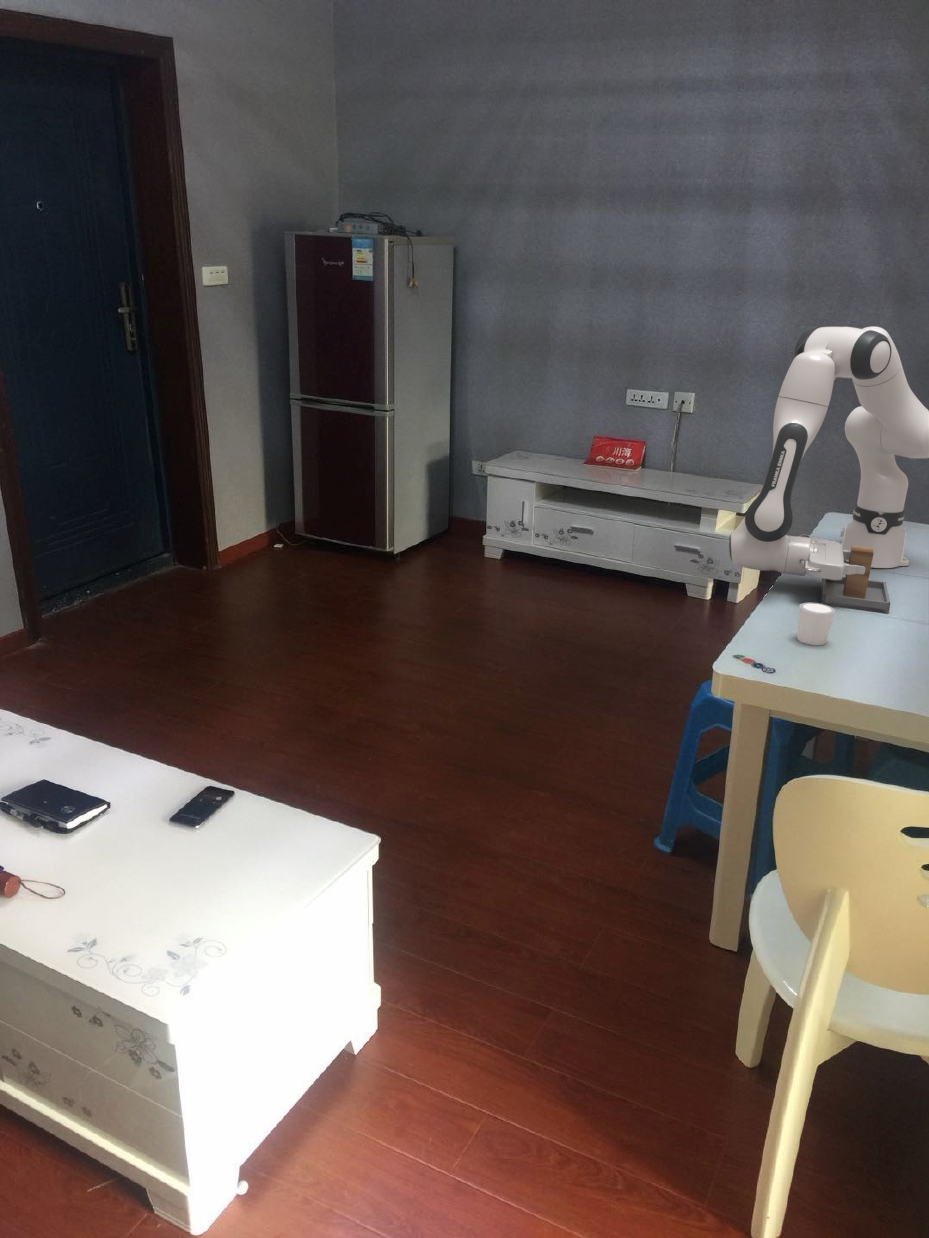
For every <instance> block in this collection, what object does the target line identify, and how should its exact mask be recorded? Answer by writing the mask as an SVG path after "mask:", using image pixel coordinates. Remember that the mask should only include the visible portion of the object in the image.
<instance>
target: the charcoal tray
mask: <svg viewBox="0 0 929 1238" xmlns="http://www.w3.org/2000/svg"><path fill="white" fill-rule="evenodd" d="M845 578H846V576H843V577H842V580H830V579H824V578H821V583H820V584H821V585H820V589H821V592H820V594H821V595H820V598H821V599H820V600H821V604H824V605H827V606H830V607H837V608H846V609H852V610H859V611H867V612H874V613H879V614H880V613H881V614H889V613H890V612H889V611H890V608H891V599H890V596H889V595H890V594H889V591H888V587H887V582H886V581H878V580H870V579H868V585H867V590H866V595H865V599H860V598H853V597H845V596H844V594H843V589H844V584H845Z"/></svg>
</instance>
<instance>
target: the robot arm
mask: <svg viewBox="0 0 929 1238" xmlns="http://www.w3.org/2000/svg"><path fill="white" fill-rule="evenodd" d="M793 356H794V358H793V360H792V362H791V364H790V366H789V368H788V370H787V373H786V374H785V377H784V379H783V381H782V385H781V387H780V390H779V394H778V396H777V400H776V404H775V409H774V414H773V423H772V425H773V426H772V427H773V428H772V435H773V446H772V454H771V458H770V461H769V464H768V465H769V466H768V469H767V472H766V475H765V478H764V482H763V485H762V488H761V491H760V492H759V494H758V496H757V497H755V499H754V500H753V501H752V503H750V505H749V507H747V510H746V511H745V515H744V517H743V519H742V520H741V522H740V523H738V526H737V527H736V528H735V529H734V530H733V531H732V532H730V534H729V540H728V541H729V542H728V550H729V557H730V560H731V562H732V563H733V564H734V565H736V566H738V567H741V568H745V569H750V570H755V571H756V570H757V571H763V572H766V571H767V572H768V571H776V572H779V573H781V574H786V575H791V576H792V575H794V576H800V577H801V576H802V577H806V573H807V575H808V576H810V577H814V578H819V579H822V578H824V579H830V580H842V577H844V575H845V576H846V575H850V574H862V575H863V574H864V573H865V566H864V565H858V564H857V565H849V564H848V562H849V557H850V551H851V546H852V545H856V546H864V547H873V552H874V554H873V559H872V564H871V568H875V569H894V568H897V567H905V566H910V561H909V559H908V558H906V557H905V556H904V551H905V546H906V540H907V532H906V531H905V529H904V528H903V527H902V525H903V523H904V519H905V510H904V508H905V503H906V498H907V493H908V488H909V479H908V476H907V475H906V473H905V472H903V471H902V470H901V469H900V467H899V466H898V464H897V462H896V456H899V457H904V458H909V459H929V409H927V407H926V406H924V404H923V403H922V402H921V401H920V399H918V397H917V396H916V395H915V393H914V392H913V391H912V389H911V387H910V385H909V383H908V381H907V380H908V379H907V377H906V374H905V371H904V368H903V367H904V366H903V364H902V360H901V358H900V354H899V352H898V349H897V347H896V345H895V342H894V341H893V339H892V337H891V335H890V334H889V332H888V331H887V330H886V329H884V328H882V327H880V326H872V325H871V326H866V327H863V328H860V327H859V328H858V327H853V326H852V327H851V326H826V325H815V326H811V327H807V328H806V329H805V330H804V331H803V332H802V333H801V334H800V335H799V336H798V338H797V339H796V341H795V345H794V351H793ZM837 378H843V379H851V380H852V383H853V386H854V389H855V392H856V393H855V394H856V396H857V398H858V402H859V404H860V406H857V407H855V408H854V409H853V410H852V411H851V412H850V414H849V415H848V416H847V418H846V420H845V423H844V434H845V437H846V439H847V441H848V442H849V443H850V444H851V446H852V447H853V449H854V450H855V453H856V456H857V458H858V462H859V466H860V467H859V468H860V481H859V491H858V495H857V503H856V504H855V505H854V508H853V511H852V512H853V513H852V521H850V523H848V524H847V525H846V526H845V527H843V528H841V531H840V537H841V538H842V539H840V542H837V541H834V540H830V539H823V538H816V537H811V535H809V534H801V535H799V536H795V535H787V534H788V533H789V531H790V530H791V527H792V524H793V511H792V510H793V509H792V506H791V504H792V503H791V500H792V499H791V498H792V493H793V489H794V485H795V483H796V479H797V477H798V476H797V475H798V473H799V469H800V466H801V463H802V460H803V457H804V456H805V454H806V452H807V450H808V449H809V447H810V446H811V444H812V443H813V441H814V439H815V438H816V436H817V434H818V433H819V431H820V429H821V427H822V426H823V422H824V420H825V418H826V415H827V412H828V408H829V405H830V402H831V397H832V394H833V389H834V388H833V387H834V383H835V382H834V381H835V380H836V379H837ZM845 562H847V563H845Z"/></svg>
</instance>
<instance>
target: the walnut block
mask: <svg viewBox="0 0 929 1238" xmlns="http://www.w3.org/2000/svg"><path fill="white" fill-rule="evenodd" d="M873 554H874V552H873V547H864V546H856V545H852V546H851V551H850V557H849V562H847V564H849V565H857V564H858V565H864V566H865V573H864V574H863V575H862V574H850V575H846V574H845V577H846V578H845V584H844V589H843V594H844V596H845V597H853V598H860V599H865V595H866V590H867V585H868V580H870V574H871V568H872V567H871V564H872V559H873Z"/></svg>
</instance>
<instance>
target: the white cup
mask: <svg viewBox="0 0 929 1238" xmlns="http://www.w3.org/2000/svg"><path fill="white" fill-rule="evenodd" d="M835 613H836V610H835V608H833V606H829V605H824V604H822V603H819V602H804V603H800V604H799V606H798V619H797V620H798V622H797V634H796V635H797V637H796V639H797V638H798V639H797V640H798V641H799V642H801V643H803V644H806V645H810V646H823V645H825V644H826V643H827V641H828V637H829V634H830V630H831V626H832V623H833V621H834V616H835Z"/></svg>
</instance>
